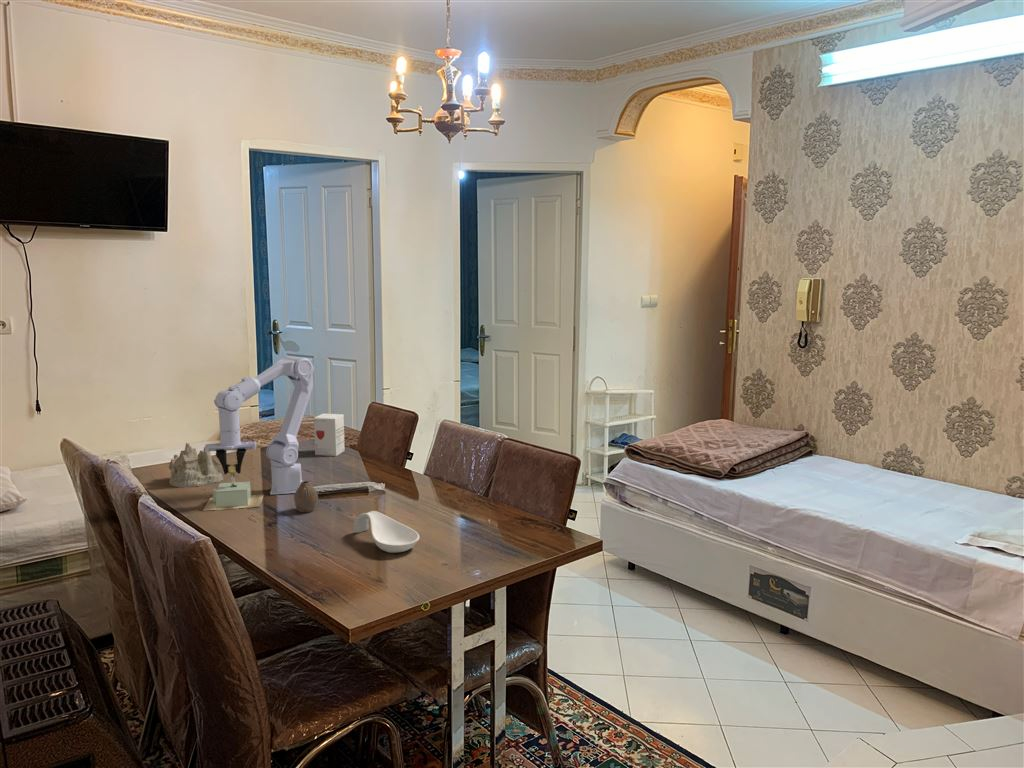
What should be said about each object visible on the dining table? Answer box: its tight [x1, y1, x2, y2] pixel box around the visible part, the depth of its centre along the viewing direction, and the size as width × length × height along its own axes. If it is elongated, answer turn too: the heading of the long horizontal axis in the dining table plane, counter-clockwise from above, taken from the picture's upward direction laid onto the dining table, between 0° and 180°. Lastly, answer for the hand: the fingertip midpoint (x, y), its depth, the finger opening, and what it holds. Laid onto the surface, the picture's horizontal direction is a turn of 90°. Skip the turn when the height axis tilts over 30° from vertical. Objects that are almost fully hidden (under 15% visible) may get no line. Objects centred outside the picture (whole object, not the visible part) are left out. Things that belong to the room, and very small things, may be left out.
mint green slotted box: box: [212, 480, 252, 508], centre depth 229 cm, size 10×9×5 cm
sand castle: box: [168, 442, 224, 489], centre depth 253 cm, size 16×16×15 cm
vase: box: [293, 480, 319, 513], centre depth 222 cm, size 7×7×9 cm
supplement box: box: [313, 413, 345, 457], centre depth 291 cm, size 9×9×15 cm
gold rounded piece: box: [227, 462, 237, 487], centre depth 228 cm, size 7×7×8 cm
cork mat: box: [203, 494, 264, 512], centre depth 230 cm, size 16×12×1 cm
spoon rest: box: [352, 510, 420, 554], centre depth 196 cm, size 24×12×7 cm, turn 44°
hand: (232, 473), depth 228 cm, fingers closed on gold rounded piece, 3 cm apart
